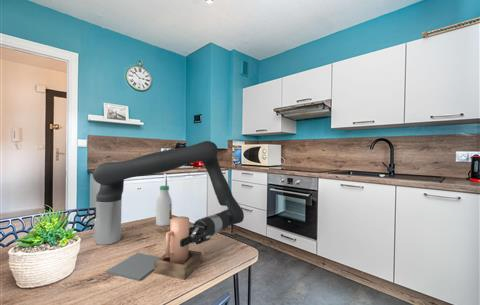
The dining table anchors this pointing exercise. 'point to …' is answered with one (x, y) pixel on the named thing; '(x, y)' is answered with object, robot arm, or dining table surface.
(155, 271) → the walnut collar
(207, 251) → the dining table surface
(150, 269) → the charcoal mat
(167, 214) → the milk bottle
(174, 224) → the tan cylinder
